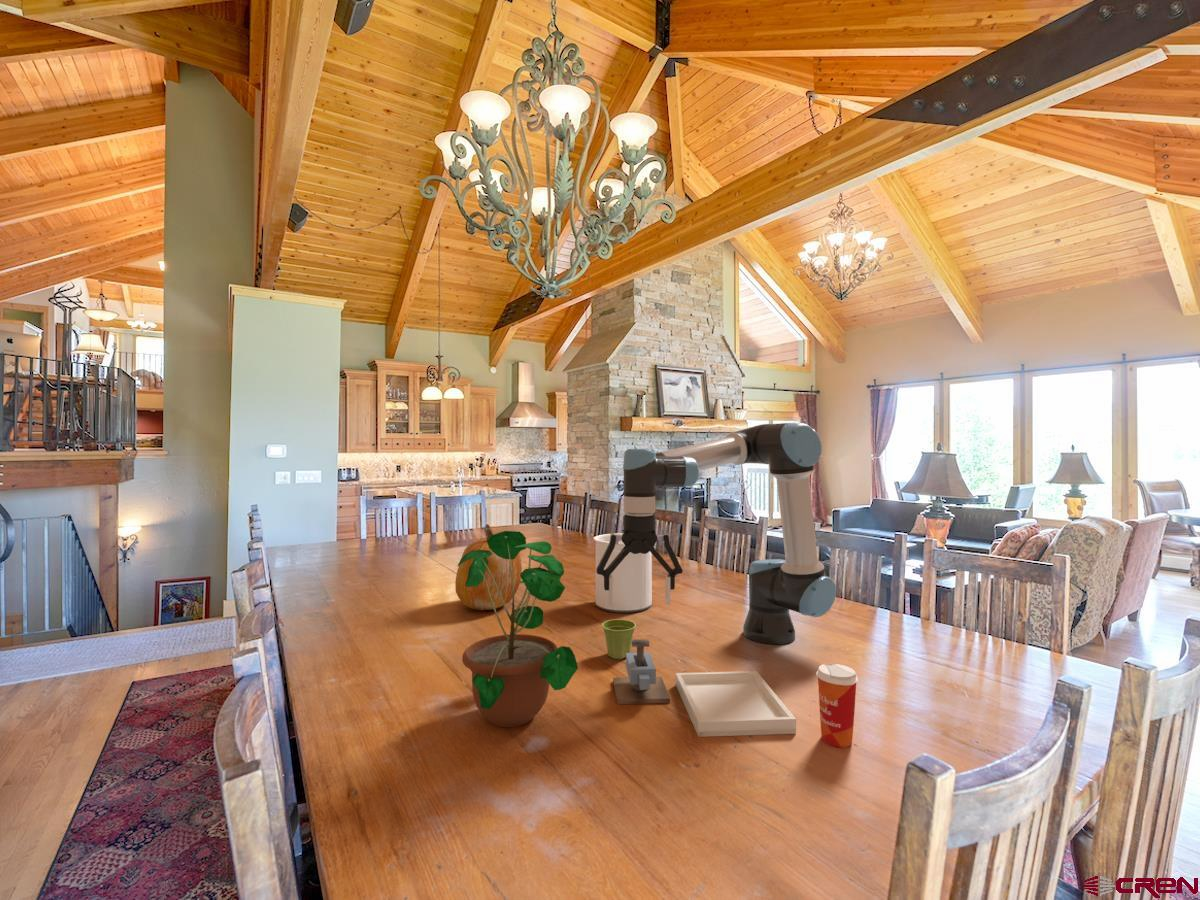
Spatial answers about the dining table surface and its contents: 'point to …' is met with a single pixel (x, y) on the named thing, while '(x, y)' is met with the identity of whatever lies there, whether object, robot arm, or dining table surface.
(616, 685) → the lever on base
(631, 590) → the bucket
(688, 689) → the tray
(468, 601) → the pumpkin
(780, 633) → the robot arm
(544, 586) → the potted plant
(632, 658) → the grey slotted block
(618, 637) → the plant pot
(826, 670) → the paper cup
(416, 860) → the dining table surface
